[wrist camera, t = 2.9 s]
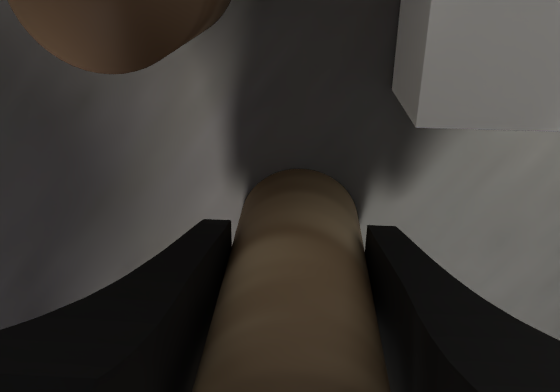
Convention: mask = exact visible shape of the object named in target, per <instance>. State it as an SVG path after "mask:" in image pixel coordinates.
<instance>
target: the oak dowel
mask: <svg viewBox="0 0 560 392" xmlns="http://www.w3.org/2000/svg"><path fill="white" fill-rule="evenodd" d="M192 392H391V391H390V385H389V380H388V375H387V369H386V364H385V359H384V353H383V348H382V343H381V337H380V332H379V327H378V321H377V316H376V311H375V305H374V300H373V295H372V289H371V284H370V279H369V273H368V268H367V263H366V257H365V252H364V247H363V241H362V236H361V231H360V225H359V220H358V215H357V210H356V207H355V204H354V202H353V200H352V198H351V196H350V195H349V193H348V192H347V191H346V189H345V188H344V187H343V186H342V185H341V184H340V183H338V182H337V181H336V180H334V179H333V178H331V177H329V176H327V175H325V174H323V173H320V172H318V171H314V170H309V169H289V170H284V171H280V172H277V173H275V174H272V175H270V176H268V177H267V178H265V179H263V180H262V181H261V182H260V183H258V184H257V185H256V186H255V187H254V188H253V189H252V191H251V192H250V193H249V195H248V197H247V198H246V200H245V203H244V205H243V208H242V212H241V216H240V219H239V223H238V227H237V230H236V234H235V237H234V241H233V245H232V248H231V252H230V256H229V259H228V263H227V267H226V270H225V274H224V277H223V281H222V285H221V288H220V292H219V296H218V299H217V303H216V306H215V310H214V314H213V317H212V321H211V325H210V328H209V332H208V336H207V339H206V343H205V346H204V350H203V354H202V357H201V361H200V365H199V368H198V372H197V375H196V379H195V383H194V386H193V390H192Z"/></svg>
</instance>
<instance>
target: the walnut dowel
mask: <svg viewBox="0 0 560 392" xmlns="http://www.w3.org/2000/svg"><path fill="white" fill-rule="evenodd" d="M230 1H231V0H8V2H9V4H10V6H11V8H12V10H13V12H14V13H15V15H16V17H17V18H18V20H19V21H20V23H21V24H22V25H23V27H24V28H25V29H26V30H27V32H28V33H29V34H30V35H31V36H32V37H33V38H34V39H35V40H36V41H37V42H38V43H39V44H40V45H41V46H42V47H44V48H45V49H46V50H47V51H49V52H50V53H51V54H53V55H54V56H56V57H57V58H59V59H61V60H62V61H64V62H66V63H68V64H70V65H72V66H75V67H78V68H80V69H83V70H86V71H91V72H95V73H102V74H124V73H129V72H135V71H138V70H141V69H144V68H147V67H149V66H151V65H153V64H155V63H156V62H158V61H160V60H161V59H163V58H164V57H166V56H167V55H169V54H170V53H172V52H173V51H175V50H176V49H178V48H179V47H181V46H182V45H184V44H185V43H187V42H188V41H190V40H191V39H193V38H194V37H196V36H198V35H199V34H201V33H202V32H204V31H205V30H206V29H208V28H209V27H211V26H212V25H213V24H214V23H215V22H216V21H217V20H218V19H219V18H220V17H221V16H222V14H223V13H224V12H225V10H226V8H227V7H228V5H229V3H230Z"/></svg>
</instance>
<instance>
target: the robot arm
mask: <svg viewBox="0 0 560 392" xmlns="http://www.w3.org/2000/svg"><path fill="white" fill-rule="evenodd" d="M231 248H232V241H231V220H211V219H204V220H202V221H201V222H199V223H198V224H197V225H195V226H194V227H193V228H191V229H190V230H189V231H188V232H186V233H185V234H184V235H183V236H181V237H180V238H179V239H177V240H176V241H175V242H174V243H172V244H171V245H170V246H168V247H167V248H166V249H164V250H163V251H162V252H160V253H159V254H158V255H156V256H155V257H153V258H152V259H150V260H149V261H147V262H146V263H144V264H143V265H141V266H140V267H138V268H137V269H135V270H134V271H132V272H131V273H129V274H128V275H126V276H124V277H123V278H121V279H119V280H118V281H116V282H114V283H112V284H110V285H109V286H107V287H105V288H103V289H101V290H99V291H97V292H95V293H93V294H91V295H89V296H87V297H85V298H83V299H81V300H78V301H76V302H74V303H71V304H69V305H67V306H64V307H62V308H59V309H57V310H55V311H52V312H50V313H48V314H45V315H43V316H40V317H38V318H35V319H32V320H29V321H26V322H23V323H20V324H18V325H15V326H11V327H8V328H5V329H2V330H0V392H192V390H193V386H194V383H195V379H196V375H197V372H198V368H199V365H200V361H201V357H202V354H203V350H204V346H205V343H206V339H207V336H208V332H209V328H210V325H211V321H212V317H213V314H214V310H215V306H216V303H217V299H218V296H219V292H220V288H221V285H222V281H223V277H224V274H225V270H226V267H227V263H228V259H229V256H230V252H231ZM365 257H366V263H367V268H368V273H369V279H370V284H371V289H372V295H373V300H374V305H375V311H376V316H377V321H378V327H379V332H380V337H381V343H382V348H383V353H384V359H385V364H386V369H387V375H388V380H389V385H390V391H391V392H560V341H559V340H557V339H555V338H553V337H551V336H549V335H547V334H545V333H543V332H541V331H539V330H537V329H535V328H533V327H531V326H529V325H527V324H525V323H523V322H521V321H520V320H518V319H516V318H514V317H512V316H511V315H509V314H507V313H506V312H504V311H503V310H501V309H499V308H498V307H496V306H494V305H493V304H491V303H490V302H488V301H486V300H485V299H483V298H482V297H480V296H479V295H477V294H476V293H474V292H473V291H472V290H470V289H469V288H468V287H466V286H465V285H464V284H462V283H461V282H460V281H458V280H457V279H456V278H454V277H453V276H452V275H450V274H449V273H448V272H447V271H445V270H444V269H443V268H442V267H441V266H439V265H438V264H437V263H436V262H435V261H434V260H432V259H431V258H430V257H429V256H428V255H427V254H426V253H425V252H423V251H422V250H421V249H420V248H419V247H418V246H417V245H416V244H415V243H414V242H412V241H411V240H410V239H409V238H408V237H407V236H406V235H405V234H404V233H403V232H402V231H401V230H399V229H398V228H397V227H396V226H375V225H367V235H366V246H365Z"/></svg>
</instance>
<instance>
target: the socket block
mask: <svg viewBox="0 0 560 392" xmlns="http://www.w3.org/2000/svg"><path fill="white" fill-rule="evenodd" d="M392 91H393V93H394V94H395V96H396V97H397V99H398V100H399V102H400V104H401V105H402V107H403V108H404V110H405V112H406V113H407V115H408V116H409V118H410V119H411V121H412V123H413V124H414V126H415V127H416V128H443V129H478V130H513V131H548V132H560V0H401V3H400V13H399V23H398V33H397V43H396V53H395V63H394V73H393V83H392Z"/></svg>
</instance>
